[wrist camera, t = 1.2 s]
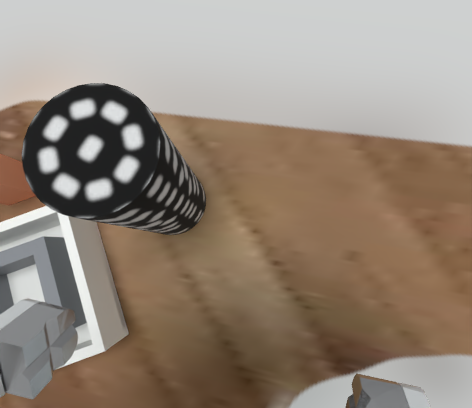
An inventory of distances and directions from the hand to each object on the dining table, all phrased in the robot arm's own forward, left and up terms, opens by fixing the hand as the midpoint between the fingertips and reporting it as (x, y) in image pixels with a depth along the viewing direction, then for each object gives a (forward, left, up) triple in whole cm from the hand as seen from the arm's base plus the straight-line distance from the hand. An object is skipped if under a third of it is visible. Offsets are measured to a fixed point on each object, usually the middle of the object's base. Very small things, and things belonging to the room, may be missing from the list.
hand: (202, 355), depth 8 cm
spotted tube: (+2, +12, -28) cm, 30 cm away
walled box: (-16, +16, -28) cm, 36 cm away
